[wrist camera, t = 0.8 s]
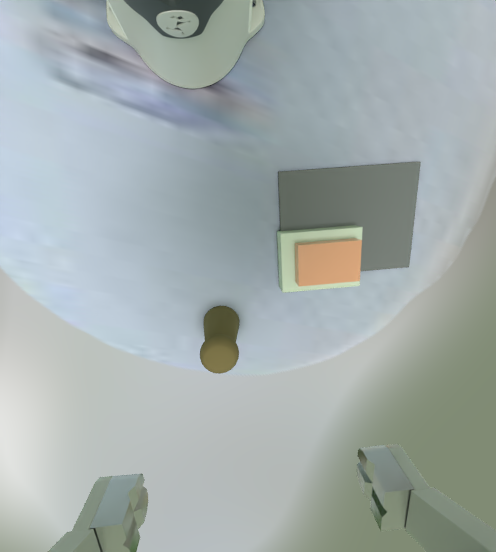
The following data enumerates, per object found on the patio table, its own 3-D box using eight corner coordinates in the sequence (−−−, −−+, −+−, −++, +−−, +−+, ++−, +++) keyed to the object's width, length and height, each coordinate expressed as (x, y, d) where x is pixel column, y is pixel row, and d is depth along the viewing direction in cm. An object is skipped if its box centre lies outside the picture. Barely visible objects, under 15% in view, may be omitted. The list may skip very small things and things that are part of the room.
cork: (246, 316, 44) (251, 353, 34) (227, 344, 46) (227, 388, 35) (215, 299, 43) (210, 332, 33) (196, 328, 44) (186, 368, 34)
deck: (277, 231, 41) (280, 233, 38) (353, 225, 41) (362, 227, 38) (279, 286, 43) (282, 292, 40) (350, 279, 44) (359, 285, 41)
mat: (278, 172, 38) (278, 171, 38) (418, 161, 39) (420, 161, 39) (282, 277, 43) (282, 278, 42) (407, 266, 44) (409, 266, 43)
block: (294, 243, 38) (298, 245, 36) (355, 238, 39) (361, 240, 37) (295, 282, 40) (298, 286, 38) (353, 277, 40) (359, 281, 38)
